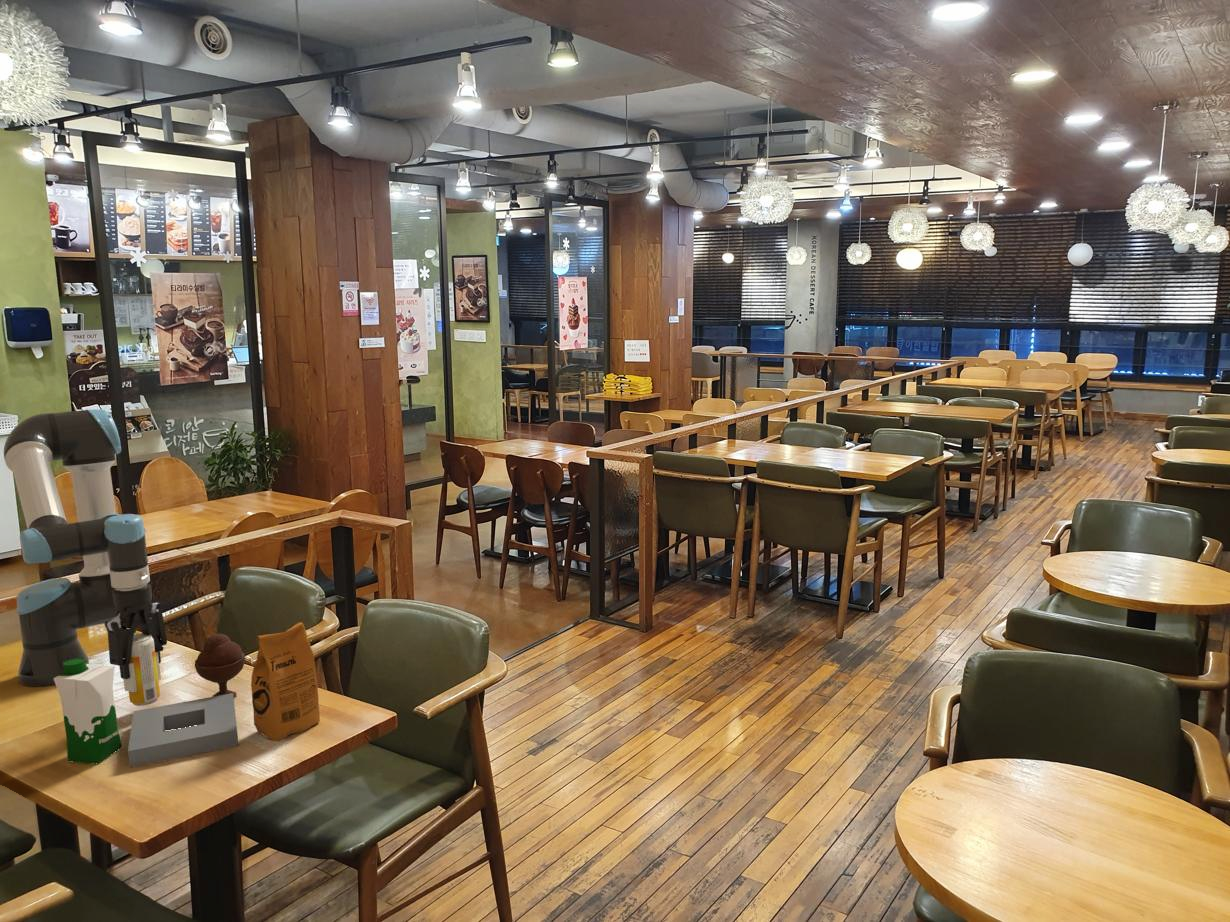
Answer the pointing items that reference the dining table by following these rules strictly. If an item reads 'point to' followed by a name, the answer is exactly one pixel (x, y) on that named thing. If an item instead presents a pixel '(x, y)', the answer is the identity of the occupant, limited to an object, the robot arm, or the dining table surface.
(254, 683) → the coffee package
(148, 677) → the beer can
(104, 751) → the milk carton
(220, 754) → the dining table surface
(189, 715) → the socket holder
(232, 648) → the ice cream bowl
